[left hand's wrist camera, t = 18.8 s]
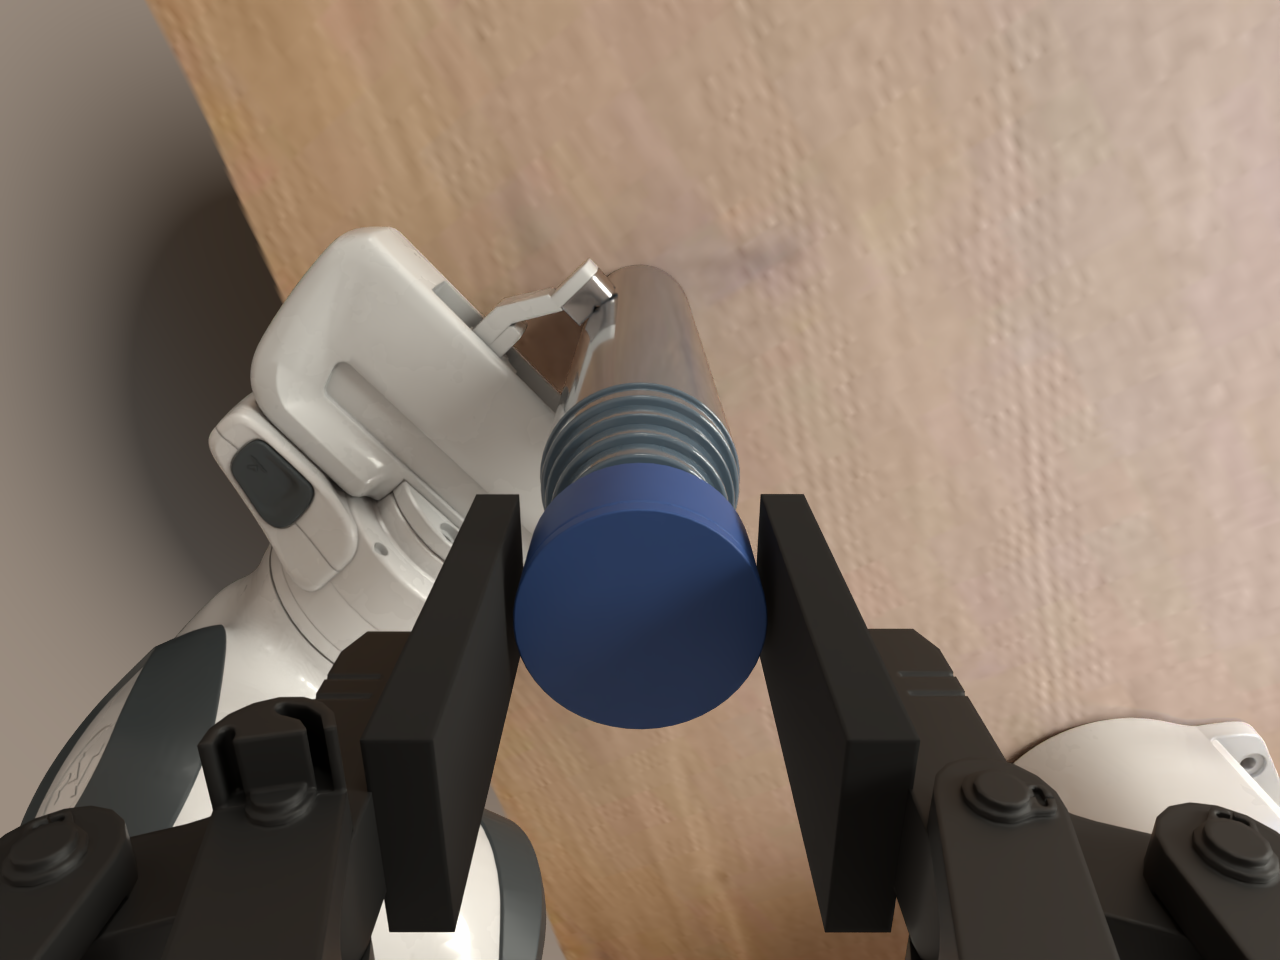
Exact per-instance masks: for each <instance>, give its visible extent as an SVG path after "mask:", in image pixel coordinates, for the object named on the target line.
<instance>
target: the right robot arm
mask: <svg viewBox="0 0 1280 960" xmlns="http://www.w3.org/2000/svg"><path fill="white" fill-rule="evenodd" d="M615 288H616V287H615V285H614V284H613V283H612V282H611V281H610V280H609V279H608V278H607V276H606V275H605V274H604V273H603V272H602V271H601V270H600V269H599V268H598V266H597V265H596V264H595V263H594V262H593V261H592V260H591V259H590V258H588V259H587V260H586V261H584V262H583V263H582V264H581V265H580V266H579V267H578V268H577V269H576V270H575V271H574V272H573V273H572V274H571V275H570V276H569V277H568V278H567V279H566V280H565V281H564V282H563V283H562V284H561V285H560V286H558V287H557V288H556V289H555V288H554V287H551V288H546V289H542V290H538V291H533V292H529V293H524V294H520V295H516V296H511V297H507V298H504V299H503V300H502V301H501V302H500V303H499V304H498V305H497V306H496V307H495V308H494V309H493V310H492V311H491V312H490V313H489V314H488V315H486V316H485V317H484V316H483V315H482V314H481V313H480V312H479V311H478V310H477V309H476V308H475V307H474V306H473V305H472V304H471V303H470V302H469V301H468V300H467V299H466V298H465V297H464V296H463V295H462V294H461V293H460V292H459V291H458V290H457V289H456V288H455V287H454V286H453V285H452V284H451V283H450V282H449V281H448V280H447V279H446V278H445V277H444V276H443V275H442V274H441V273H440V272H439V271H438V270H437V269H436V268H435V267H434V266H433V265H432V264H431V263H430V262H429V261H428V260H427V259H426V258H425V257H424V256H423V255H422V254H421V253H420V252H419V251H418V250H417V249H416V248H415V247H414V246H413V245H412V244H411V243H410V242H409V240H408V239H407V238H406V237H405V236H404V235H403V234H401V233H400V232H399V231H398V230H396V229H395V228H392V227H362V228H356V229H353V230H350V231H348V232H346V233H344V234H342V235H341V236H339V237H338V238H337V239H335V240H334V241H333V242H332V243H331V244H330V245H329V246H328V247H327V248H326V249H325V251H324V252H323V253H322V254H321V255H320V256H319V257H318V258H317V260H316V261H315V262H314V263H313V265H312V266H311V267H310V268H309V269H308V271H307V272H306V273H305V274H304V276H303V277H302V278H301V280H300V281H299V282H298V284H297V285H296V286H295V288H294V289H293V290H292V292H291V293H290V295H289V296H288V298H287V299H286V300H285V302H284V303H283V305H282V306H281V308H280V309H279V311H278V312H277V314H276V316H275V317H274V319H273V320H272V322H271V323H270V325H269V327H268V328H267V330H266V332H265V333H264V335H263V337H262V338H261V340H260V342H259V344H258V346H257V349H256V351H255V354H254V357H253V360H252V365H251V373H250V379H251V387H252V391H253V392H252V393H251V394H249V395H248V396H246V397H245V398H244V399H242V400H241V401H240V402H239V403H238V404H237V405H236V406H234V407H233V408H232V409H231V410H230V411H229V412H228V413H227V414H226V415H225V416H224V417H223V418H222V419H221V421H220V422H219V423H218V424H217V425H216V427H215V428H214V429H213V430H212V432H211V434H210V436H209V448H210V450H211V453H212V455H213V457H214V459H215V460H216V462H217V463H218V465H219V466H220V468H221V469H222V471H223V472H224V474H225V475H226V476H227V478H228V479H229V481H230V482H231V483H232V485H233V486H234V488H235V489H236V491H237V492H238V494H239V495H240V496H241V498H242V499H243V501H244V502H245V504H246V505H247V507H248V508H249V510H250V511H251V513H252V514H253V516H254V517H255V519H256V520H257V522H258V524H259V525H260V527H261V528H262V530H263V532H264V533H265V535H266V537H267V538H268V540H269V542H270V544H269V546H268V548H267V550H266V551H265V553H264V555H263V557H262V560H261V562H260V564H259V566H258V567H257V568H256V569H255V570H254V571H253V572H252V573H251V574H249V575H247V576H245V577H243V578H241V579H238V580H236V581H235V582H233V583H231V584H229V585H228V586H226V587H225V588H223V589H222V590H221V591H220V592H219V593H217V594H216V595H215V596H214V597H213V598H212V599H211V600H210V601H209V602H208V603H207V604H206V605H205V606H204V607H203V608H202V609H201V610H200V611H199V612H198V613H197V614H196V615H195V616H194V617H193V618H192V619H191V620H190V621H189V623H188V624H187V625H186V626H185V627H184V628H183V629H182V630H181V631H180V632H179V633H178V635H177V636H176V637H175V638H174V639H172V640H169V641H167V642H165V643H163V644H160V645H158V646H156V647H154V648H153V649H152V650H151V651H150V652H149V653H148V654H147V655H146V656H145V657H144V658H143V659H142V660H141V661H140V662H139V663H138V664H137V665H136V666H135V667H134V668H133V669H132V670H131V671H130V672H129V673H128V674H126V675H125V676H124V677H123V678H122V680H121V681H120V682H119V683H118V684H117V685H116V686H115V687H114V688H113V689H112V690H111V691H110V692H109V693H108V694H107V695H106V696H105V697H104V698H103V699H102V700H101V701H100V702H99V704H98V705H97V706H96V707H95V708H94V709H93V710H92V712H91V713H90V714H89V715H88V716H87V717H86V719H85V720H84V721H83V722H82V724H81V725H80V726H79V727H78V729H77V730H76V731H75V733H74V734H73V735H72V737H71V738H70V739H69V740H68V742H67V743H66V745H65V746H64V747H63V749H62V750H61V752H60V753H59V754H58V756H57V758H56V759H55V761H54V762H53V764H52V765H51V767H50V768H49V770H48V771H47V773H46V775H45V777H44V778H43V780H42V782H41V783H40V785H39V787H38V789H37V791H36V793H35V795H34V797H33V799H32V801H31V803H30V805H29V807H28V809H27V811H26V813H25V816H24V818H23V820H22V823H21V826H22V825H23V824H25V823H27V822H29V821H31V820H33V819H35V818H38V817H41V816H44V815H47V814H50V813H53V812H56V811H59V810H62V809H66V808H74V807H83V806H97V807H102V808H107V809H112V810H113V811H115V812H116V813H117V814H118V815H119V816H120V817H121V818H122V819H124V821H125V824H126V827H127V831H128V834H129V837H132V836H136V835H141V834H145V833H149V832H154V831H158V830H162V829H167V828H171V827H175V826H179V825H184V824H188V823H191V822H194V821H197V820H201V819H204V818H207V817H209V816H211V814H212V811H213V809H212V805H211V801H210V797H209V793H208V789H207V785H206V781H205V776H204V772H203V768H202V764H201V760H200V756H199V752H198V748H197V745H198V743H199V742H200V741H201V739H202V738H203V736H204V735H205V734H206V732H207V731H208V729H209V728H211V727H212V726H213V725H215V724H216V723H217V722H219V721H220V720H221V719H223V718H224V717H225V716H227V715H228V714H230V713H232V712H234V711H237V710H239V709H241V708H243V707H245V706H248V705H250V704H252V703H255V702H260V701H264V700H269V699H273V698H277V697H306V698H310V699H315V698H316V693H317V691H318V689H319V688H320V686H321V684H322V683H323V681H324V679H327V674H328V673H329V671H330V669H331V668H332V666H333V664H334V663H335V661H336V659H337V658H338V656H339V654H340V653H341V651H342V650H344V649H345V648H346V647H348V646H349V645H350V644H351V643H353V642H354V641H355V640H357V639H358V638H359V637H361V636H362V635H363V634H365V633H366V632H367V631H412V629H413V627H414V624H415V622H416V620H417V618H418V616H419V614H420V612H421V610H422V608H423V605H424V603H425V601H426V599H427V597H428V595H429V593H430V591H431V589H432V587H433V584H434V582H435V580H436V578H437V576H438V574H439V572H440V570H441V568H442V565H443V563H444V561H445V559H446V557H447V555H448V553H449V551H450V549H451V547H452V544H453V542H454V540H455V538H456V536H457V534H458V532H459V530H460V528H461V525H462V523H463V521H464V519H465V517H466V515H467V513H468V511H469V509H470V507H471V504H472V502H473V500H474V498H475V496H476V494H519V499H520V516H521V533H522V551H523V567H524V564H525V560H526V557H527V553H528V549H529V546H530V542H531V539H532V536H533V532H534V529H535V527H536V525H537V523H538V521H539V519H540V517H541V516H542V514H543V512H544V508H543V504H542V499H541V484H540V465H541V460H542V454H543V451H544V448H545V444H546V441H547V438H548V435H549V432H550V429H551V426H552V422H553V419H554V416H555V413H556V410H557V407H558V404H559V400H560V397H561V394H560V393H559V392H558V391H557V390H556V389H555V388H554V387H553V386H552V385H551V384H550V383H549V382H548V381H547V380H546V379H545V378H544V377H543V376H542V375H541V374H540V373H539V372H538V371H537V370H536V369H535V368H534V367H533V366H532V365H531V364H530V362H529V361H528V360H527V359H526V358H525V357H524V356H523V355H522V354H521V353H520V352H519V351H518V350H517V349H516V348H515V347H514V346H513V345H514V344H515V343H516V342H517V341H518V340H519V339H520V338H521V336H522V335H523V333H524V331H525V330H526V328H527V322H526V321H525V320H528V319H532V318H536V317H540V316H544V315H548V314H552V313H556V312H560V311H563V310H564V311H565V312H566V313H567V314H568V315H569V316H570V317H571V318H572V319H573V320H574V321H575V322H576V323H577V324H578V325H579V326H580V325H581V324H582V323H584V322H585V321H586V320H587V319H588V318H589V317H590V316H591V314H592V313H593V311H594V307H595V306H601V305H602V304H603V303H605V302H606V301H607V300H608V299H609V298H610V297H611V296H612V295H613V293H614V292H615ZM1013 764H1015V765H1017V766H1019V767H1021V768H1023V769H1025V770H1027V771H1029V772H1031V773H1033V774H1035V775H1037V776H1038V777H1040V778H1041V779H1042V780H1043V781H1044V782H1046V783H1047V784H1048V785H1049V786H1050V787H1051V788H1053V789H1054V790H1055V791H1056V792H1057V793H1058V795H1059V797H1060V798H1061V800H1062V802H1063V803H1064V805H1065V806H1066V808H1067V810H1068V812H1069V813H1072V814H1074V815H1077V816H1080V817H1084V818H1087V819H1090V820H1094V821H1097V822H1102V823H1106V824H1110V825H1115V826H1119V827H1123V828H1128V829H1132V830H1136V831H1141V832H1145V833H1149V834H1152V831H1153V827H1154V824H1155V821H1156V817H1157V816H1158V815H1159V814H1160V813H1162V812H1163V811H1164V810H1165V809H1166V808H1167V807H1168V806H1172V805H1177V804H1183V803H1188V802H1192V803H1201V804H1210V805H1217V806H1220V807H1223V808H1226V809H1229V810H1232V811H1235V812H1239V813H1242V814H1245V815H1247V816H1249V817H1251V818H1253V819H1255V820H1257V821H1258V822H1260V823H1262V824H1264V825H1266V826H1268V827H1270V828H1271V829H1273V830H1275V831H1277V832H1278V833H1279V834H1280V778H1279V776H1278V774H1277V771H1276V769H1275V766H1274V764H1273V761H1272V759H1271V756H1270V754H1269V752H1268V749H1267V747H1266V744H1265V742H1264V741H1263V739H1262V738H1261V737H1260V735H1259V734H1258V733H1257V732H1256V731H1255V729H1254V728H1253V727H1252V726H1251V725H1249V724H1247V723H1244V722H1220V723H1212V724H1205V725H1199V726H1188V725H1181V724H1176V723H1171V722H1166V721H1162V720H1156V719H1148V718H1116V719H1108V720H1102V721H1097V722H1092V723H1088V724H1085V725H1081V726H1078V727H1075V728H1072V729H1069V730H1067V731H1064V732H1062V733H1060V734H1057V735H1055V736H1053V737H1051V738H1049V739H1047V740H1045V741H1044V742H1042V743H1040V744H1039V745H1037V746H1035V747H1034V748H1032V749H1031V750H1029V751H1028V752H1027V753H1025V754H1024V755H1023V756H1021V757H1020V758H1019V759H1018V760H1017V761H1015V762H1014V763H1013ZM545 930H546V904H545V895H544V887H543V883H542V877H541V872H540V868H539V865H538V861H537V857H536V854H535V851H534V849H533V846H532V844H531V842H530V840H529V839H528V837H527V835H526V834H525V833H524V831H523V830H522V829H521V828H520V827H519V826H518V825H517V824H515V823H514V822H513V821H511V820H509V819H507V818H505V817H502V816H500V815H498V814H496V813H493V812H491V811H489V810H487V809H484V811H483V815H482V820H481V824H480V828H479V832H478V837H477V841H476V845H475V849H474V854H473V858H472V862H471V866H470V870H469V875H468V879H467V883H466V887H465V892H464V896H463V900H462V904H461V908H460V913H459V917H458V921H457V925H456V930H455V932H389V928H388V922H387V915H386V909H385V902H384V901H383V904H382V906H381V909H380V912H379V915H378V918H377V921H376V924H375V927H374V930H373V933H372V936H371V938H372V944H373V950H374V957H375V960H541V959H542V954H543V948H544V941H545Z"/></svg>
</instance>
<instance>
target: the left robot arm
mask: <svg viewBox="0 0 1280 960" xmlns="http://www.w3.org/2000/svg"><path fill="white" fill-rule="evenodd" d="M757 570H758V573H759V577H760V580H761V584H762V587H763V591H764V595H765V600H766V606H767V630H766V638H765V641H764V645H763V649H762V652H761V654H760V659H761V663H762V668H763V672H764V676H765V680H766V684H767V689H768V693H769V697H770V701H771V706H772V710H773V714H774V718H775V723H776V727H777V731H778V735H779V739H780V744H781V748H782V752H783V756H784V761H785V765H786V769H787V773H788V777H789V782H790V786H791V790H792V794H793V799H794V803H795V807H796V811H797V816H798V820H799V824H800V828H801V832H802V837H803V841H804V845H805V849H806V854H807V858H808V862H809V866H810V870H811V875H812V879H813V883H814V887H815V892H816V896H817V900H818V904H819V909H820V913H821V917H822V921H823V925H824V930H825V932H891V928H892V921H893V915H894V909H895V902H896V897H897V900H898V903H899V905H900V908H901V911H902V914H903V917H904V920H905V923H906V926H907V929H908V932H909V938H908V944H907V950H906V956H905V960H1280V834H1279V833H1278V832H1277V831H1275V830H1273V829H1271V828H1270V827H1268V826H1266V825H1264V824H1262V823H1260V822H1258V821H1257V820H1255V819H1253V818H1251V817H1249V816H1247V815H1245V814H1242V813H1239V812H1235V811H1232V810H1229V809H1226V808H1223V807H1220V806H1217V805H1210V804H1201V803H1192V802H1188V803H1183V804H1177V805H1172V806H1168V807H1167V808H1166V809H1165V810H1164V811H1163V812H1162V813H1160V814H1159V815H1158V816H1157V817H1156V821H1155V824H1154V827H1153V831H1152V834H1149V833H1145V832H1141V831H1136V830H1132V829H1128V828H1123V827H1119V826H1115V825H1110V824H1106V823H1102V822H1097V821H1094V820H1090V819H1087V818H1084V817H1080V816H1077V815H1074V814H1072V813H1069V812H1068V810H1067V808H1066V806H1065V805H1064V803H1063V802H1062V800H1061V798H1060V797H1059V795H1058V793H1057V792H1056V791H1055V790H1054V789H1053V788H1051V787H1050V786H1049V785H1048V784H1047V783H1046V782H1044V781H1043V780H1042V779H1041V778H1040V777H1038V776H1037V775H1035V774H1033V773H1031V772H1029V771H1027V770H1025V769H1023V768H1021V767H1019V766H1017V765H1015V764H1012V763H1008V762H1007V761H1006V759H1005V758H1004V756H1003V754H1002V753H1001V751H1000V749H999V748H998V746H997V744H996V743H995V741H994V739H993V738H992V736H991V734H990V733H989V731H988V729H987V728H986V726H985V724H984V723H983V721H982V719H981V718H980V716H979V714H978V713H977V711H976V709H975V708H974V706H973V704H972V703H971V701H970V699H969V698H968V696H965V691H964V689H963V688H962V686H961V684H960V683H959V681H958V679H957V678H956V677H954V676H953V671H952V669H951V668H950V666H949V664H948V663H947V661H946V659H945V658H944V656H943V654H942V653H941V651H940V649H939V648H937V647H936V646H935V645H933V644H932V643H931V642H930V641H928V640H927V639H926V638H924V637H923V636H922V635H920V634H919V633H918V632H916V631H915V630H914V629H867V627H866V624H865V622H864V620H863V618H862V616H861V614H860V612H859V610H858V608H857V605H856V603H855V601H854V599H853V597H852V595H851V593H850V591H849V589H848V587H847V584H846V582H845V580H844V578H843V576H842V574H841V572H840V570H839V568H838V565H837V563H836V561H835V559H834V557H833V555H832V553H831V551H830V549H829V547H828V544H827V542H826V540H825V538H824V536H823V534H822V532H821V530H820V528H819V525H818V523H817V521H816V519H815V517H814V515H813V513H812V511H811V509H810V507H809V504H808V502H807V500H806V498H805V496H804V494H761V499H760V516H759V533H758V550H757ZM522 571H523V551H522V533H521V516H520V499H519V494H476V496H475V498H474V500H473V502H472V504H471V507H470V509H469V511H468V513H467V515H466V517H465V519H464V521H463V523H462V525H461V528H460V530H459V532H458V534H457V536H456V538H455V540H454V542H453V544H452V547H451V549H450V551H449V553H448V555H447V557H446V559H445V561H444V563H443V565H442V568H441V570H440V572H439V574H438V576H437V578H436V580H435V582H434V584H433V587H432V589H431V591H430V593H429V595H428V597H427V599H426V601H425V603H424V605H423V608H422V610H421V612H420V614H419V616H418V618H417V620H416V622H415V624H414V627H413V629H412V631H367V632H366V633H365V634H363V635H362V636H361V637H359V638H358V639H357V640H355V641H354V642H353V643H351V644H350V645H349V646H348V647H346V648H345V649H344V650H342V651H341V653H340V654H339V656H338V658H337V659H336V661H335V663H334V664H333V666H332V668H331V669H330V671H329V673H328V674H327V679H324V681H323V683H322V684H321V686H320V688H319V689H318V691H317V693H316V698H315V699H310V698H306V697H277V698H273V699H269V700H264V701H260V702H255V703H252V704H250V705H248V706H245V707H243V708H241V709H239V710H237V711H234V712H232V713H230V714H228V715H227V716H225V717H224V718H223V719H221V720H220V721H219V722H217V723H216V724H215V725H213V726H212V727H211V728H209V729H208V731H207V732H206V734H205V735H204V736H203V738H202V739H201V741H200V742H199V743H198V745H197V748H198V752H199V756H200V760H201V764H202V768H203V772H204V776H205V781H206V785H207V789H208V793H209V797H210V801H211V805H212V809H213V811H212V814H211V816H209V817H207V818H204V819H201V820H197V821H194V822H191V823H188V824H184V825H179V826H175V827H171V828H167V829H162V830H158V831H154V832H149V833H145V834H141V835H136V836H132V837H129V834H128V831H127V827H126V824H125V821H124V819H122V818H121V817H120V816H119V815H118V814H117V813H116V812H115V811H113V810H112V809H107V808H102V807H97V806H83V807H74V808H66V809H62V810H59V811H56V812H53V813H50V814H47V815H44V816H41V817H38V818H35V819H33V820H31V821H29V822H27V823H25V824H23V825H22V826H20V827H18V828H16V829H14V830H12V831H11V832H9V833H7V834H5V835H4V836H3V837H1V838H0V960H375V957H374V950H373V944H372V938H371V936H372V933H373V930H374V927H375V924H376V921H377V918H378V915H379V912H380V909H381V906H382V904H383V901H384V902H385V909H386V915H387V922H388V928H389V932H455V930H456V925H457V921H458V917H459V913H460V908H461V904H462V900H463V896H464V892H465V887H466V883H467V879H468V875H469V870H470V866H471V862H472V858H473V854H474V849H475V845H476V841H477V837H478V832H479V828H480V824H481V820H482V815H483V811H484V807H485V803H486V798H487V794H488V790H489V786H490V782H491V777H492V773H493V769H494V765H495V761H496V756H497V752H498V748H499V744H500V739H501V735H502V731H503V727H504V722H505V718H506V714H507V710H508V706H509V701H510V697H511V693H512V689H513V684H514V680H515V676H516V672H517V668H518V663H519V659H520V654H519V650H518V647H517V644H516V641H515V635H514V629H513V609H514V602H515V596H516V593H517V589H518V585H519V582H520V578H521V575H522Z"/></svg>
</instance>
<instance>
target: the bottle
mask: <svg viewBox="0 0 1280 960" xmlns="http://www.w3.org/2000/svg"><path fill="white" fill-rule="evenodd" d="M607 278H608V279H609V280H610V281H611V282H612V283H613V284H614V285H615V287H616V288H615V292H614V293H613V295H612V296H611V297H610V298H609V299H608V300H607V301H606V302H605V303H603V304H602V305H601V306H595V307H594V311H593V313H592V314H591V316H590V317H589V318H588V319H587V320H586V321H585V322H584V325H583V328H582V331H581V334H580V338H579V341H578V344H577V347H576V350H575V353H574V356H573V360H572V363H571V366H570V369H569V372H568V375H567V378H566V382H565V385H564V388H563V391H562V394H561V397H560V400H559V404H558V407H557V410H556V413H555V416H554V419H553V422H552V426H551V429H550V432H549V435H548V438H547V441H546V444H545V448H544V451H543V454H542V460H541V465H540V484H541V499H542V504H543V508H544V511H545V509H546V508H547V506H548V505H549V504H550V503H551V502H552V501H553V500H554V498H555V497H556V496H557V495H558V494H560V493H561V492H562V491H563V490H564V489H565V488H566V487H568V486H569V485H571V484H572V483H574V482H575V481H577V480H578V479H580V478H582V477H584V476H586V475H588V474H590V473H592V472H594V471H597V470H600V469H603V468H606V467H610V466H615V465H620V464H629V463H654V464H660V465H665V466H670V467H673V468H677V469H680V470H683V471H686V472H688V473H690V474H692V475H695V476H697V477H698V478H700V479H702V480H703V481H705V482H707V483H708V484H710V485H711V486H712V487H714V488H715V489H716V490H717V491H719V492H720V493H721V494H722V495H723V496H724V497H725V498H726V499H727V500H728V502H729V503H730V504H731V505H732V507H733V508H734V509H735V511H736V508H737V504H738V497H739V483H740V468H739V461H738V455H737V452H736V448H735V445H734V442H733V439H732V436H731V433H730V430H729V426H728V423H727V420H726V417H725V414H724V411H723V408H722V405H721V402H720V399H719V395H718V392H717V389H716V386H715V383H714V380H713V377H712V374H711V371H710V368H709V364H708V361H707V358H706V355H705V352H704V349H703V346H702V343H701V340H700V337H699V333H698V330H697V327H696V324H695V321H694V318H693V315H692V312H691V309H690V306H689V302H688V299H687V297H686V294H685V292H684V290H683V289H682V287H681V286H680V284H679V283H678V282H677V281H676V280H675V279H674V278H673V277H672V276H671V275H669V274H668V273H666V272H665V271H663V270H661V269H658V268H656V267H652V266H648V265H631V266H627V267H623V268H621V269H618V270H616V271H614V272H613V273H611V274H610V275H608V276H607Z"/></svg>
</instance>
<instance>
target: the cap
mask: <svg viewBox="0 0 1280 960" xmlns="http://www.w3.org/2000/svg"><path fill="white" fill-rule="evenodd" d="M513 629H514V635H515V641H516V644H517V647H518V650H519V654H520V656H521V658H522V660H523V662H524V664H525V666H526V668H527V670H528V671H529V673H530V674H531V676H532V677H533V679H534V680H535V681H536V683H537V684H538V685H539V686H540V687H541V688H542V689H543V690H544V692H546V693H547V694H548V695H549V696H550V697H551V698H552V699H554V700H555V701H556V702H557V703H559V704H560V705H562V706H563V707H565V708H566V709H568V710H569V711H571V712H573V713H575V714H577V715H579V716H581V717H583V718H586V719H589V720H591V721H594V722H597V723H600V724H604V725H608V726H612V727H619V728H626V729H652V728H661V727H667V726H673V725H676V724H680V723H683V722H687V721H689V720H692V719H694V718H697V717H699V716H701V715H703V714H705V713H707V712H709V711H711V710H712V709H714V708H716V707H717V706H719V705H720V704H721V703H723V702H724V701H725V700H727V699H728V698H729V697H730V696H731V695H732V694H733V693H734V692H736V691H737V690H738V689H739V688H740V686H741V685H742V684H743V683H744V681H745V680H746V679H747V678H748V676H749V675H750V673H751V672H752V670H753V668H754V667H755V665H756V663H757V661H758V659H759V656H760V654H761V652H762V649H763V645H764V641H765V638H766V630H767V606H766V600H765V595H764V591H763V587H762V584H761V580H760V577H759V573H758V570H757V566H756V563H755V559H754V555H753V552H752V548H751V545H750V541H749V538H748V535H747V532H746V529H745V527H744V525H743V523H742V521H741V519H740V517H739V515H738V514H737V512H736V511H735V509H734V508H733V507H732V505H731V504H730V503H729V502H728V500H727V499H726V498H725V497H724V496H723V495H722V494H721V493H720V492H719V491H717V490H716V489H715V488H714V487H712V486H711V485H710V484H708V483H707V482H705V481H703V480H702V479H700V478H698V477H697V476H695V475H692V474H690V473H688V472H686V471H683V470H680V469H677V468H673V467H670V466H665V465H660V464H654V463H629V464H620V465H615V466H610V467H606V468H603V469H600V470H597V471H594V472H592V473H590V474H588V475H586V476H584V477H582V478H580V479H578V480H577V481H575V482H574V483H572V484H571V485H569V486H568V487H566V488H565V489H564V490H563V491H562V492H561V493H560V494H558V495H557V496H556V497H555V498H554V500H553V501H552V502H551V503H550V504H549V505H548V506H547V508H546V509H545V511H544V512H543V514H542V516H541V517H540V519H539V521H538V523H537V525H536V527H535V529H534V532H533V536H532V539H531V542H530V546H529V549H528V553H527V557H526V560H525V564H524V567H523V571H522V575H521V578H520V582H519V585H518V589H517V593H516V596H515V602H514V609H513Z"/></svg>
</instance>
